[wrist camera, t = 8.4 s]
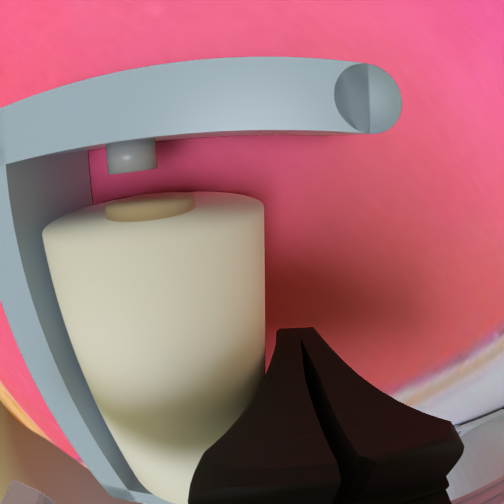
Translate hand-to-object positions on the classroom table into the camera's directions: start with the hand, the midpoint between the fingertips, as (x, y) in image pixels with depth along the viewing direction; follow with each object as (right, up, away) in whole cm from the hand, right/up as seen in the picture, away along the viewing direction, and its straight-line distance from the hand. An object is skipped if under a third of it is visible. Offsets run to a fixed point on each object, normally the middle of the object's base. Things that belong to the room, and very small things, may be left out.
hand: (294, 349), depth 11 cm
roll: (-4, 0, -1) cm, 4 cm away
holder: (-6, +1, +2) cm, 6 cm away
